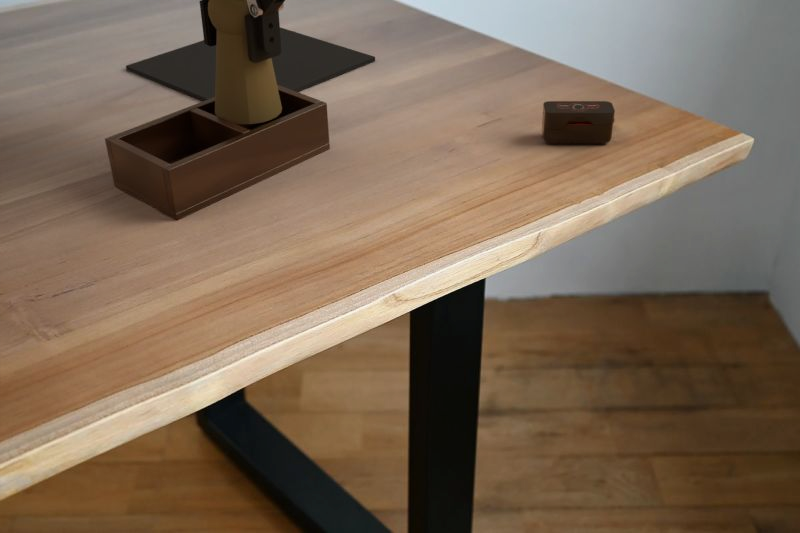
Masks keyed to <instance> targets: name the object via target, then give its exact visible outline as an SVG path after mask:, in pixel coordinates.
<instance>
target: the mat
mask: <svg viewBox="0 0 800 533" xmlns="http://www.w3.org/2000/svg"><path fill="white" fill-rule="evenodd" d="M280 37H281V53H280V55H278V56H275V57H273V58H271V59H272V64H273V68H274V73H275V78H276V82H277V85H279V86H282V87H285V88H287V89H290V90H293V91H296V92H298V93H300V92H301V91H303V90H306V89H309V88H311V87H313V86H317V85H319V84H321V83H324V82H326V81H329V80H331V79H333V78H337V77H339V76H341V75H343V74H346V73H348V72H351V71H353V70H355V69H358V68H361V67H363V66H366V65H368V64H370V63H373V62H376V56H374V55H371V54H367V53H365V52H362V51H357V50H355V49H351V48H348V47H345V46H342V45H339V44H335V43H332V42H329V41H325V40H322V39H319V38H316V37H313V36H309V35H306V34H303V33H300V32H296V31H293V30H290V29H287V28H284V27H281V26H280ZM125 69H126V71H129V72H131V73H134V74H136V75H138V76H141V77H143V78H145V79H147V80H151V81H153V82H156V83H158V84H160V85H163V86H165V87H168V88H170V89H172V90H174V91H178V92H180V93H182V94H184V95H187V96H190V97H192V98H195V99H197V100H199V101H201V102H203V101H205V100H208V99H211V98H213V97H215V82H216V45H215V46H208V45H206V44H205V43H204V39H202V40H200V41H198V42H194V43H190V44H188V45H186V46H181V47H178V48H175V49H174V50H170V51H166V52H164V53H160V54H158V55H154V56H151V57H148V58H145V59H142V60H139V61H136V62H132V63H130V64H126V65H125Z"/></svg>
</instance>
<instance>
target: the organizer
mask: <svg viewBox="0 0 800 533" xmlns="http://www.w3.org/2000/svg"><path fill="white" fill-rule="evenodd" d="M277 87H278V92H279V96H280V101H281V106H282V111H281V113H280V114H279V115H278V116H277V117H275V118H273V119H271V120H269V121H265V122H262V123H256V124H234V123H232V122H229V121H227V120H224V119H222V118H220V117H217V116H216V115H215V97H213V98H211V99H208V100H205V101H201V102H198V103H195V104H192V105H190V106H187V107H184V108H182V109H179V110H176V111H174V112H171V113H169V114H166V115H163V116H160V117H158V118H155V119H153V120H150V121H148V122H145V123H142V124H139V125H137V126H134V127H132V128H129V129H127V130H124V131H122V132H121V131H120V132H119V133H116V134H113V135H111V136H108V137H106V138H104V144H105V146H106V151H107V156H108V160H109V166H110V170H111V175H112V179H113V185H114V187H115V188H117V189H119V190H121V191H123V192H124V193H126V194H127V195H130V196H132V197H133V198H136V199H137V200H139V201H141V202H142V203H145V204H146V205H148V206H150V207H152V208H154V209H156V211H157V210H158V211H160V213H163V214H164V215H167V216H169V217H170V218H172V219H174V220H176V221H178V220H181V219H183V218H186V217H187V216H189V215H191V214H193V213H195V212H198V211H200V210H202V209H205V208H206V207H209V206H211V205H213V204H215V203H217V202H220V201H221V200H223V199H226V198H227V197H230V196H232V195H234V194H236V193H238V192H240V191H242V190H245V189H247V188H249V187H251V186H254V185H255V184H257V183H260V182H262V181H264V180H266V179H268V178H271V177H273V176H274V175H276V174H278V173H281V172H283V171H285V170H287V169H290V168H292V167H294V166H296V165H298V164H300V163H303V162H304V161H307V160H309V159H311V158H313V157H314V156H317V155H320V154H321V153H324V152H325V151H328V150H330V149H331V143H330V130H329V117H328V116H329V115H328V103H327V102H325V101H322V100H320V99H318V98H315V97H312V96H309V95H306V94H304V93H301V92H296V91H293V90H290V89H287V88H285V87H282V86H279V85H277Z"/></svg>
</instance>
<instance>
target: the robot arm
mask: <svg viewBox="0 0 800 533" xmlns="http://www.w3.org/2000/svg"><path fill="white" fill-rule="evenodd" d="M208 1H209V0H199V9H200V10H199V11H200V17H201V25H202V33H203V34H202V35H203V40H204V43H205V44H206V45H208V46H215V45H216V41H217V29H216V28H215V27H214V25H213V24H212V22H211V20H210V17H209V15H208ZM246 1H247V4H248V8H249V11H250V14H249V15H246V16H245V26H246V37H247V48H248V58H249V60H250V61H251V62H254V63H258V62H261V61H264V60H267V59H270V58H273V57H275V56H278V55H280V53H281V37H280V27H281V26H280V13H279V12H280V11H282V10H283V9H284V5H285V4H284V2H285V1H286V0H246Z"/></svg>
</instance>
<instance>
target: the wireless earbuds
mask: <svg viewBox="0 0 800 533" xmlns="http://www.w3.org/2000/svg"><path fill="white" fill-rule="evenodd" d="M615 111H616V110H615V107H614V105H613V103H612V102H611V101H607V100H549V101H548V100H547V101H545V102H543V105H542V118H541V135H542V140H543V141H544V142H545V143H546V144H608V143H610V142H611V140H612V137H613V129H614V123H615Z"/></svg>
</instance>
